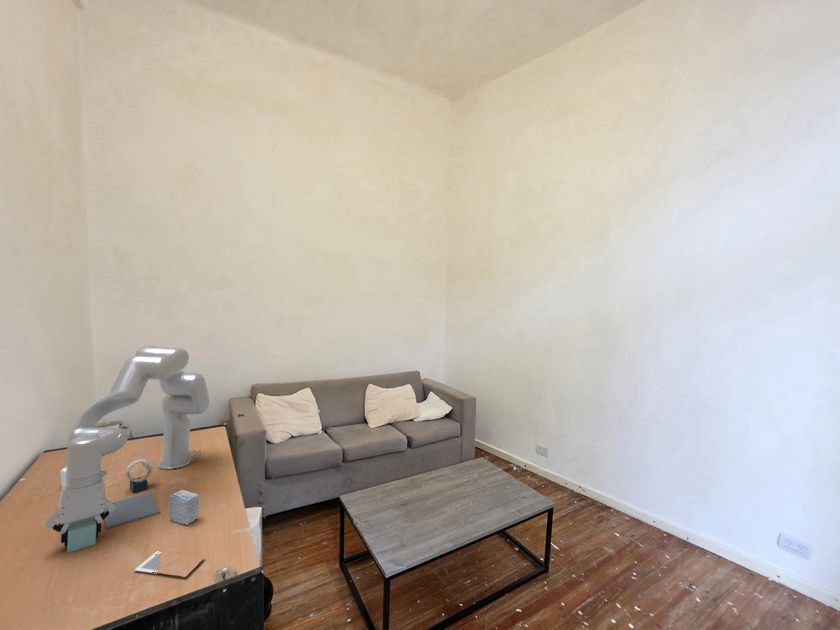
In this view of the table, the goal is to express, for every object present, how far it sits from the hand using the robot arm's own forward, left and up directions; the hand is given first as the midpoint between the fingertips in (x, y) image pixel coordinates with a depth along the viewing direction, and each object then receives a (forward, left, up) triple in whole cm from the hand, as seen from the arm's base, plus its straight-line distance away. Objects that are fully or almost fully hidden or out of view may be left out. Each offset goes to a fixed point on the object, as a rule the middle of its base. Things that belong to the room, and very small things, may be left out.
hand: (81, 538), depth 109 cm
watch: (-17, -27, -1) cm, 32 cm away
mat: (-13, -12, -1) cm, 18 cm away
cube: (0, 0, -1) cm, 1 cm away
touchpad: (-17, +26, -2) cm, 32 cm away
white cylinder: (+1, -43, -1) cm, 43 cm away
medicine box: (-25, +5, -2) cm, 26 cm away
